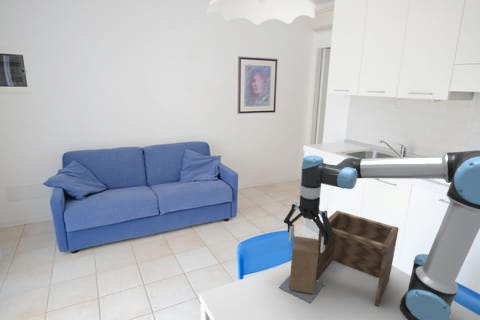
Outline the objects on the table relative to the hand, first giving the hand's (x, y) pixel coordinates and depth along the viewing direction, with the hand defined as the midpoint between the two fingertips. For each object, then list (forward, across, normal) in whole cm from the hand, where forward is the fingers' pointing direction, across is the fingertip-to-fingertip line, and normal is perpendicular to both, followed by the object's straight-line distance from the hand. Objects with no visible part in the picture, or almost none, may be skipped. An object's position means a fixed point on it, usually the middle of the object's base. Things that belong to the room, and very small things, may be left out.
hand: (306, 245), depth 117 cm
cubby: (+20, -14, -18) cm, 30 cm away
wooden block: (+19, 0, 0) cm, 19 cm away
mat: (+19, +1, 0) cm, 19 cm away
